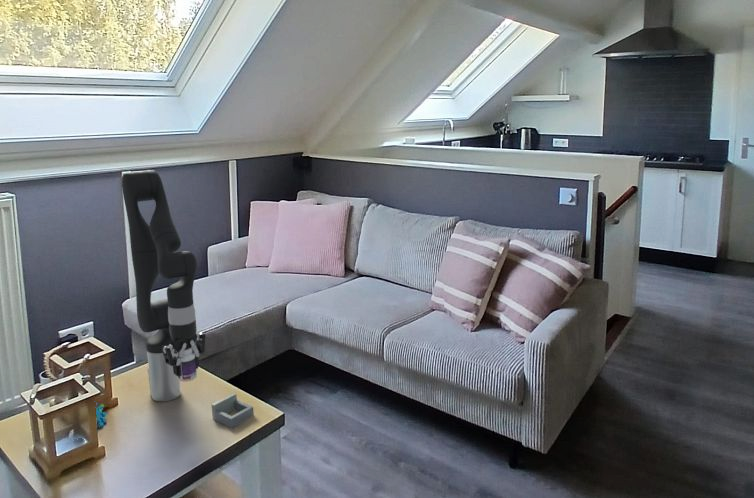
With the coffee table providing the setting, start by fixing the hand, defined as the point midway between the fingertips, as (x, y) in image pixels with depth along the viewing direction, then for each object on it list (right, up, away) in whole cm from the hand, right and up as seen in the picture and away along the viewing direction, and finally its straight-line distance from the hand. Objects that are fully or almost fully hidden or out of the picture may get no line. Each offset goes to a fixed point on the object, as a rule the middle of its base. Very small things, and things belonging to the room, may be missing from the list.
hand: (186, 371), depth 183 cm
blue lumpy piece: (-31, -18, +6) cm, 36 cm away
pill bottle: (0, -2, +1) cm, 2 cm away
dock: (+12, -16, +10) cm, 22 cm away
